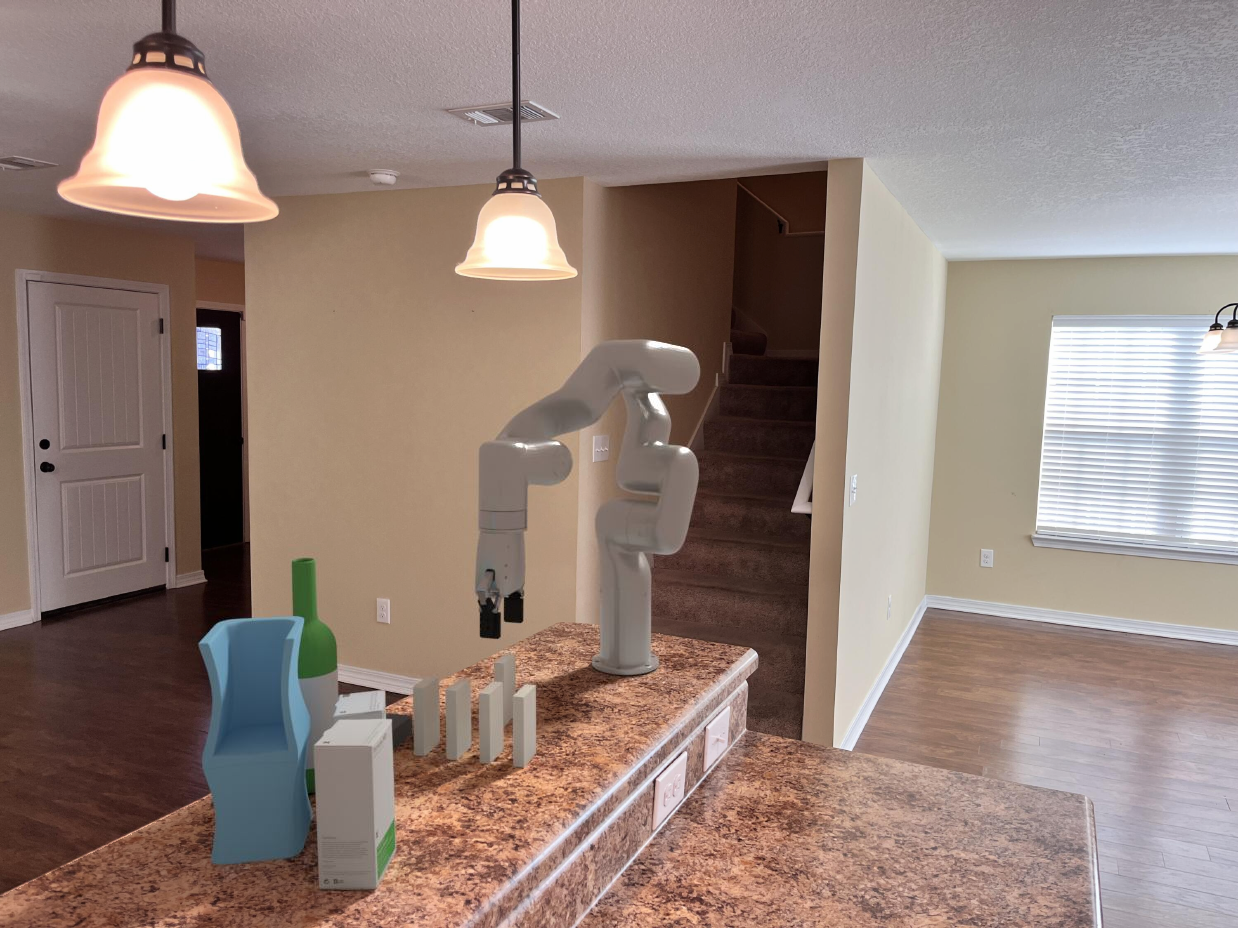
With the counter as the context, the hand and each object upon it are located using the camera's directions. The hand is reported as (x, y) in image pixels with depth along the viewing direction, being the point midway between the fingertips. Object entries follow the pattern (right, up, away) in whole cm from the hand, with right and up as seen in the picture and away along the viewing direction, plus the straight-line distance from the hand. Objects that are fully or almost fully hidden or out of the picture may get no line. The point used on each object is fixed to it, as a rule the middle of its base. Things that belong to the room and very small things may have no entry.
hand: (502, 629), depth 136 cm
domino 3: (0, -16, -12) cm, 20 cm away
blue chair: (-23, -18, -35) cm, 45 cm away
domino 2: (-5, -16, -10) cm, 19 cm away
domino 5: (+5, -16, -13) cm, 21 cm away
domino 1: (-10, -16, -9) cm, 20 cm away
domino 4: (0, -15, +2) cm, 15 cm away
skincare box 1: (-13, -18, -30) cm, 37 cm away
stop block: (-16, -15, -8) cm, 23 cm away
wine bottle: (-23, -17, -20) cm, 35 cm away
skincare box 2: (-10, -19, -41) cm, 46 cm away
